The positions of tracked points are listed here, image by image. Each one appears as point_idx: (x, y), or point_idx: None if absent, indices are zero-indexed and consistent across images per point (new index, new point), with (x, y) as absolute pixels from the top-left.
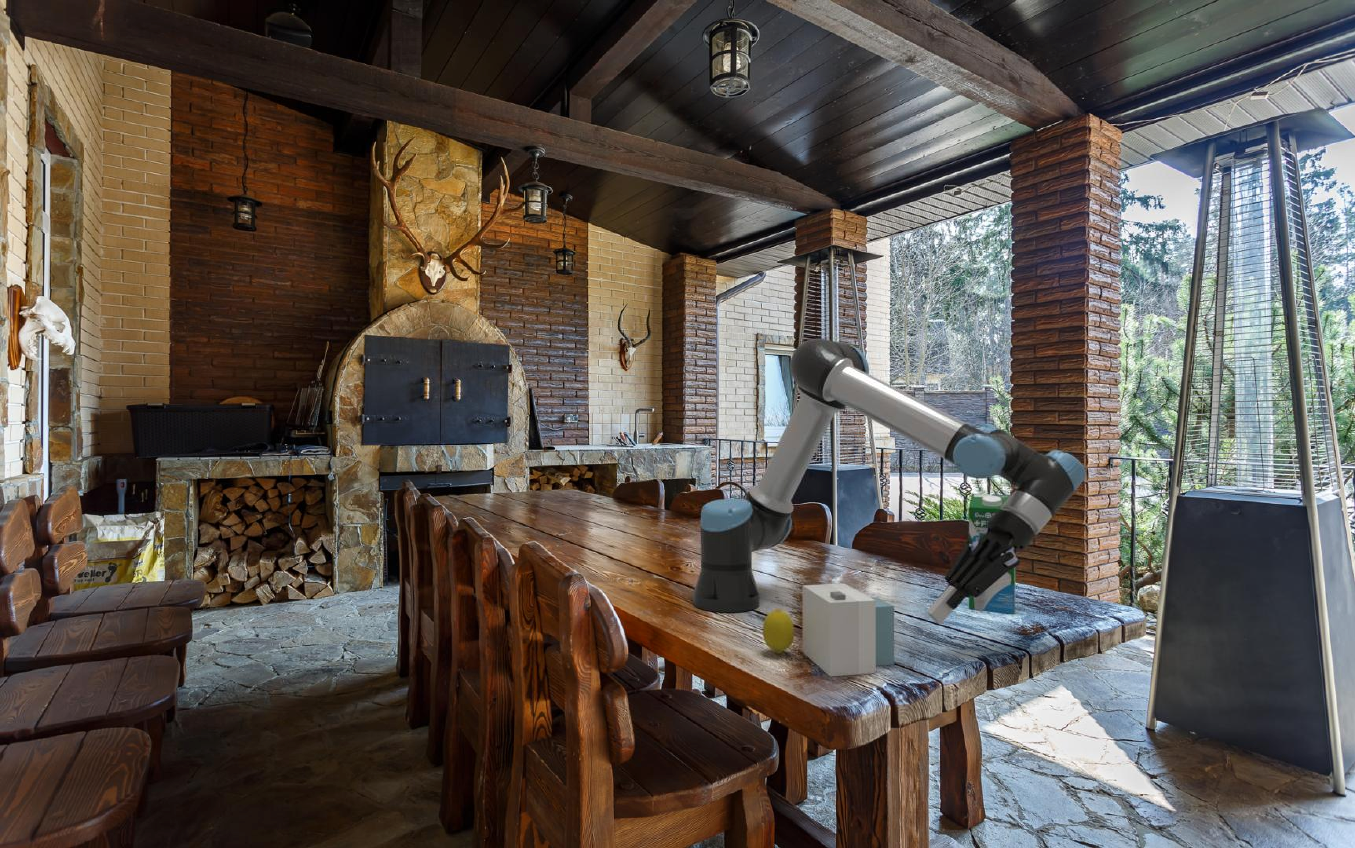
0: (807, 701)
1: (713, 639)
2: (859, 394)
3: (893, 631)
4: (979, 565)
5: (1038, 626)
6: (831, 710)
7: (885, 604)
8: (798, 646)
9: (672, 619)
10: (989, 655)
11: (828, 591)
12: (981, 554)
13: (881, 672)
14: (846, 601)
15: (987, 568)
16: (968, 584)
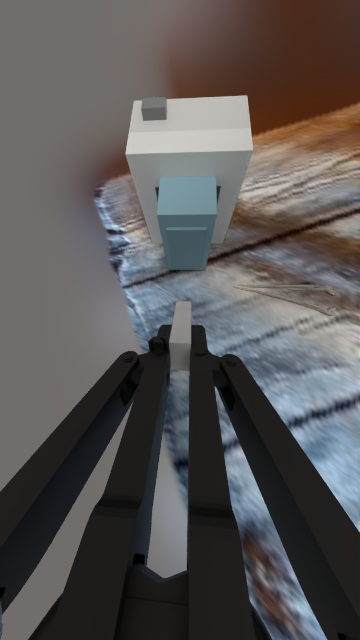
0: (116, 178)
1: (270, 149)
2: None
3: (163, 244)
4: (122, 450)
5: (288, 626)
6: (97, 187)
7: (168, 206)
8: (239, 208)
9: (341, 128)
10: (168, 394)
11: (198, 115)
12: (121, 549)
13: (153, 249)
14: (134, 119)
15: (64, 444)
16: (125, 357)
